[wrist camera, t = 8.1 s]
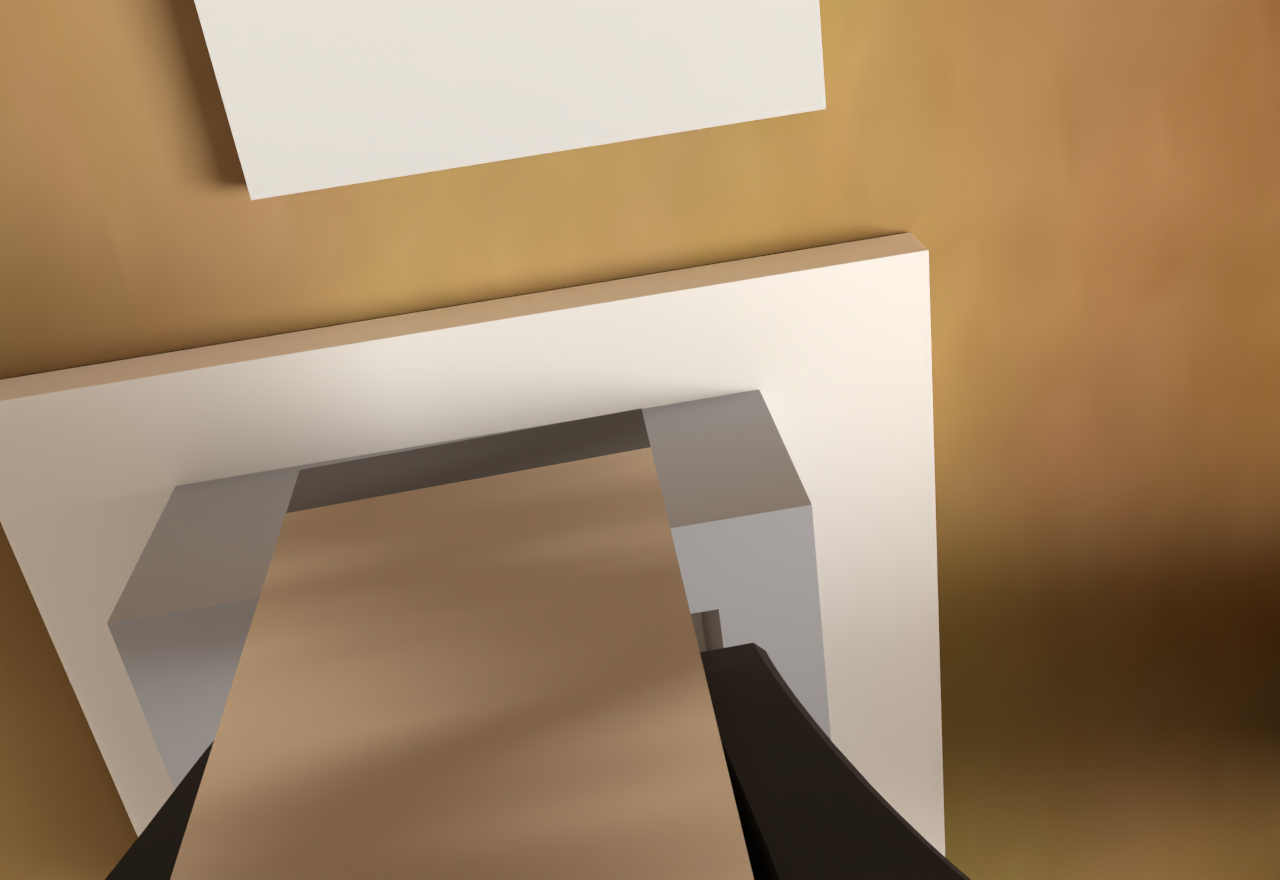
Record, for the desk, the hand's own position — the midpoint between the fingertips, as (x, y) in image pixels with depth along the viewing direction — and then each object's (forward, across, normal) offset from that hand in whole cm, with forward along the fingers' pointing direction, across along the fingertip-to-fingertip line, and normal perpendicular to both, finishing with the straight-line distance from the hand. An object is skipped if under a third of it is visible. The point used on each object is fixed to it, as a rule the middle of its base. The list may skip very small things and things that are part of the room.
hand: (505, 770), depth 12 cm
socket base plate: (+10, +1, +6) cm, 12 cm away
